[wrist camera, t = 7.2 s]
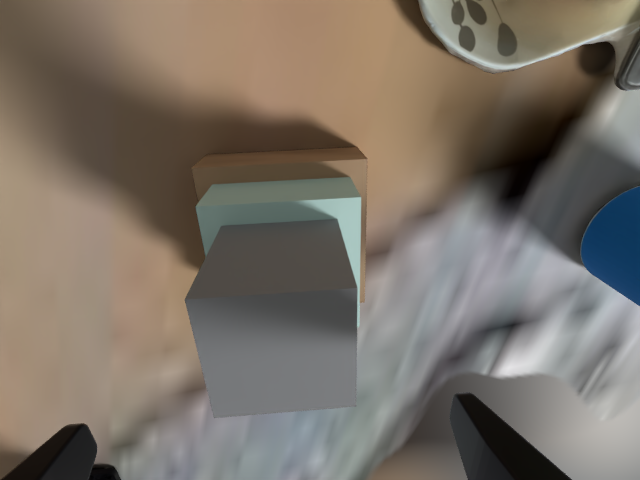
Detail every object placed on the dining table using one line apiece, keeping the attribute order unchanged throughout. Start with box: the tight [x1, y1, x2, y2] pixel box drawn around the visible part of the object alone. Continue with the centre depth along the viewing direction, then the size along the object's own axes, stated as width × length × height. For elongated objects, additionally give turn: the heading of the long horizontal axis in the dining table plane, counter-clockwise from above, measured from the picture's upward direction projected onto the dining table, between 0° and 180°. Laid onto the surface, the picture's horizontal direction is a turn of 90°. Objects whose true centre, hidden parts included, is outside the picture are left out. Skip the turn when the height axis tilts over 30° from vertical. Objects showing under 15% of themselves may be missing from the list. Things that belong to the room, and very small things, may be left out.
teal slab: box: [195, 177, 361, 327], centre depth 16 cm, size 6×6×3 cm
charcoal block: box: [185, 219, 358, 418], centre depth 12 cm, size 5×5×5 cm
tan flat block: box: [191, 147, 367, 303], centre depth 19 cm, size 8×8×3 cm
